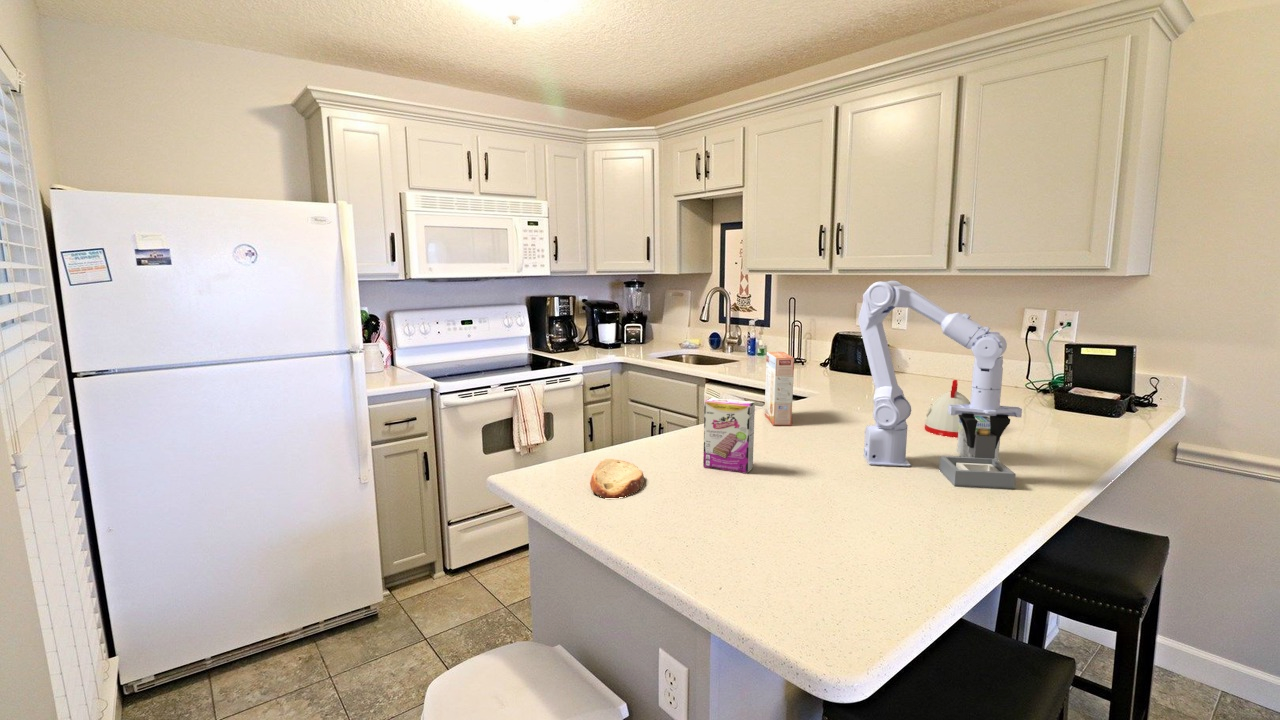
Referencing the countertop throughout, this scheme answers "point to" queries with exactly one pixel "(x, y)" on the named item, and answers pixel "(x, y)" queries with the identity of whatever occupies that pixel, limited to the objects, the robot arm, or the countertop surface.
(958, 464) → the box
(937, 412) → the cream dome
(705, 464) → the candy bar box
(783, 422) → the cracker box
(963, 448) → the light bulb box
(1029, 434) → the countertop surface
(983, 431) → the plug
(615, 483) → the slice of bread
